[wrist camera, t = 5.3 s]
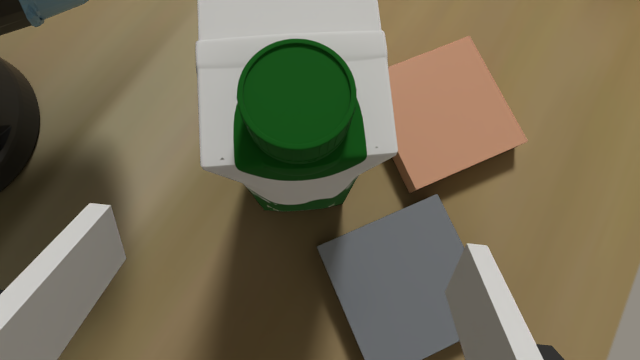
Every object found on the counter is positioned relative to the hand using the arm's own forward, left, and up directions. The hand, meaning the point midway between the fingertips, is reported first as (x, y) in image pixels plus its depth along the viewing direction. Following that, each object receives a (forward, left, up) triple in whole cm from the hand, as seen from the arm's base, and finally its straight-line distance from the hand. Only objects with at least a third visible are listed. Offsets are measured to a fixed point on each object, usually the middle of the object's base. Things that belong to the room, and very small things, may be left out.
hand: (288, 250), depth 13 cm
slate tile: (+6, +7, -17) cm, 19 cm away
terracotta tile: (-6, +16, -17) cm, 25 cm away
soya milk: (-7, +3, -17) cm, 19 cm away
